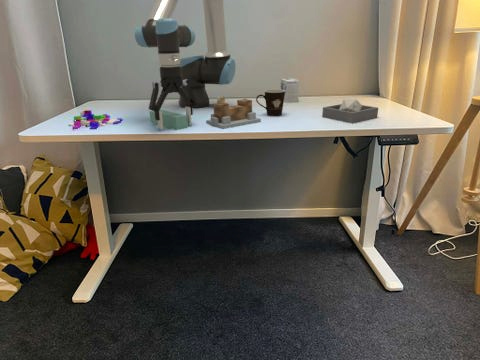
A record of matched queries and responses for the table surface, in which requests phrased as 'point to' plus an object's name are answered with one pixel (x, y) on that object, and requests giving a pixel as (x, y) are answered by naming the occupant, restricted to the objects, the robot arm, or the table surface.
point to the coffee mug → (273, 102)
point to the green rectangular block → (171, 119)
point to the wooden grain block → (232, 109)
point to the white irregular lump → (350, 105)
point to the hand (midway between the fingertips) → (175, 126)
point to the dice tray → (350, 114)
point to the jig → (228, 123)
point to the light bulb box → (290, 89)
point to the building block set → (88, 119)
